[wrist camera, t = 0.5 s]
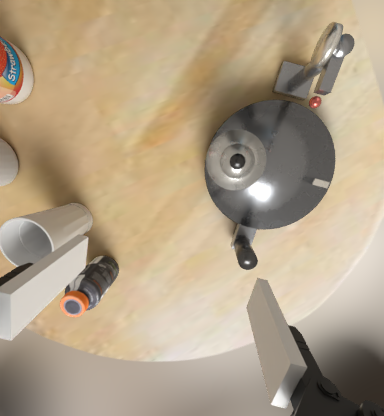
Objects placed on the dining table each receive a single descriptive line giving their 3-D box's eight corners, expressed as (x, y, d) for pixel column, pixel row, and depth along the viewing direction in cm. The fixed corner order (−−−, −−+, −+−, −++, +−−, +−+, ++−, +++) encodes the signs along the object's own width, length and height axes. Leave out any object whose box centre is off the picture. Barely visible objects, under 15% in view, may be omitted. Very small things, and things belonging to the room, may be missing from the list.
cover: (213, 126, 32) (215, 120, 26) (264, 140, 32) (279, 137, 26) (200, 177, 34) (199, 183, 28) (248, 190, 34) (257, 199, 28)
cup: (85, 193, 39) (36, 210, 28) (103, 231, 41) (63, 262, 30) (49, 205, 41) (-14, 227, 29) (68, 242, 42) (16, 276, 31)
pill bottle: (89, 253, 43) (50, 288, 32) (118, 255, 42) (88, 291, 31) (92, 279, 44) (55, 321, 33) (120, 281, 44) (92, 324, 33)
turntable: (224, 87, 32) (229, 69, 25) (350, 121, 33) (390, 112, 26) (185, 234, 39) (180, 252, 32) (290, 261, 39) (309, 286, 32)
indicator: (281, 63, 32) (335, 1, 19) (313, 72, 32) (389, 15, 19) (264, 117, 34) (301, 96, 21) (294, 125, 34) (350, 109, 21)
